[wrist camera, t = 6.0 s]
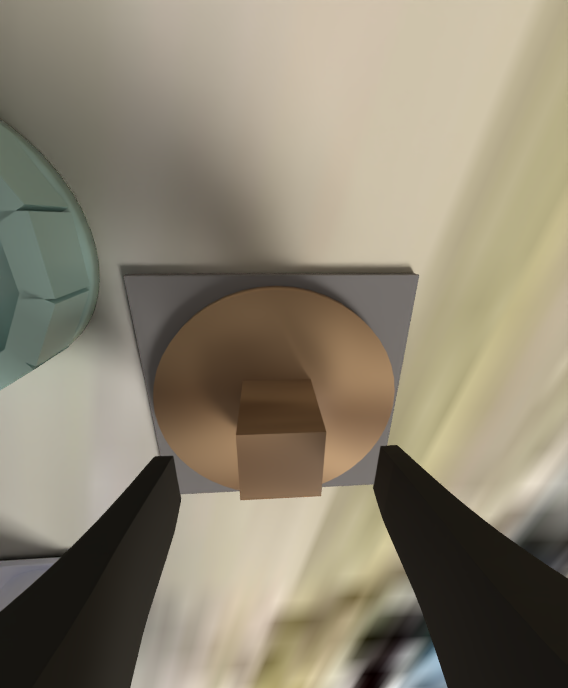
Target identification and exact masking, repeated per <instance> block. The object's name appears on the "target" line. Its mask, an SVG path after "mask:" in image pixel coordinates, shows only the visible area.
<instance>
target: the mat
mask: <svg viewBox="0 0 568 688" xmlns="http://www.w3.org/2000/svg"><path fill="white" fill-rule="evenodd" d="M418 279H419V275H418V274H415V273H388V274H127V275H125V276H124V281H125V286H126V291H127V296H128V301H129V305H130V310H131V315H132V320H133V325H134V330H135V334H136V339H137V344H138V349H139V354H140V359H141V364H142V368H143V373H144V378H145V383H146V388H147V393H148V397H149V402H150V407H151V412H152V417H153V422H154V427H155V431H156V436H157V441H158V446H159V451H160V456H173V457H174V462H175V468H176V473H177V479H178V484H179V490H180V494H194V493H214V492H233V491H240V490H235V489H232V488H229V487H225V486H223V485H220V484H218V483H215V482H213V481H211V480H209V479H207V478H205V477H203V476H202V475H200V474H198V473H197V472H196V471H194V470H193V469H191V468H190V467H189V466H188V465H186V464H185V463H184V462H183V461H182V460H181V459H180V458H179V457H178V456H177V455H176V453H175V452H174V451H173V450H172V449H171V447H170V446H169V444H168V443H167V441H166V440H165V438H164V436H163V434H162V432H161V430H160V428H159V425H158V422H157V418H156V415H155V411H154V402H153V389H154V381H155V376H156V371H157V368H158V365H159V363H160V360H161V358H162V356H163V354H164V352H165V350H166V349H167V347H168V345H169V343H170V342H171V341H172V339H173V338H174V337H175V335H176V334H177V333H178V332H179V330H180V329H181V328H182V327H183V325H184V324H185V323H186V322H187V321H188V320H190V319H191V318H192V317H193V316H194V315H195V314H196V313H197V312H199V311H200V310H202V309H203V308H205V307H206V306H207V305H209V304H210V303H212V302H214V301H216V300H218V299H220V298H222V297H224V296H227V295H230V294H233V293H236V292H238V291H241V290H246V289H251V288H256V287H265V286H289V287H297V288H303V289H308V290H312V291H315V292H318V293H321V294H323V295H326V296H328V297H330V298H332V299H334V300H336V301H338V302H340V303H342V304H343V305H345V306H346V307H348V308H349V309H350V310H352V311H353V312H354V313H355V314H356V315H358V316H359V317H360V318H361V319H362V320H363V321H364V322H365V323H366V324H367V325H368V326H369V327H370V328H371V329H372V331H373V332H374V333H375V335H376V336H377V337H378V338H379V340H380V341H381V343H382V345H383V347H384V349H385V350H386V352H387V355H388V357H389V360H390V363H391V366H392V371H393V376H394V390H395V393H394V401H393V407H392V411H391V415H390V418H389V420H388V423H387V425H386V428H385V430H384V431H383V433H382V435H381V436H380V438H379V440H378V441H377V443H376V444H375V445H374V446H373V448H372V449H371V450H370V451H369V452H368V453H367V454H366V456H365V457H364V458H363V459H362V460H360V461H359V462H358V463H357V464H356V465H354V466H353V467H352V468H351V469H349V470H347V471H346V472H344V473H343V474H341V475H340V476H338V477H336V478H334V479H332V480H330V481H328V482H325V483H323V484H322V487H331V486H351V485H370V484H374V480H375V474H376V469H377V463H378V457H379V451H380V446H387V443H388V438H389V432H390V427H391V422H392V416H393V411H394V406H395V401H396V395H397V390H398V385H399V379H400V374H401V369H402V363H403V358H404V353H405V348H406V342H407V337H408V332H409V326H410V321H411V316H412V310H413V305H414V300H415V294H416V289H417V284H418Z"/></svg>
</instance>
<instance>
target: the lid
mask: <svg viewBox="0 0 568 688" xmlns="http://www.w3.org/2000/svg"><path fill="white" fill-rule="evenodd" d="M394 393H395V390H394V376H393V371H392V366H391V363H390V360H389V357H388V355H387V352H386V350H385V349H384V347H383V345H382V343H381V341H380V340H379V338H378V337H377V336H376V335H375V333H374V332H373V331H372V329H371V328H370V327H369V326H368V325H367V324H366V323H365V322H364V321H363V320H362V319H361V318H360V317H359V316H358V315H356V314H355V313H354V312H353V311H352V310H350V309H349V308H348V307H346V306H345V305H343V304H342V303H340V302H338V301H336V300H334V299H332V298H330V297H328V296H326V295H323V294H321V293H318V292H315V291H312V290H308V289H303V288H297V287H289V286H265V287H256V288H251V289H246V290H241V291H238V292H236V293H233V294H230V295H227V296H224V297H222V298H220V299H218V300H216V301H214V302H212V303H210V304H209V305H207V306H206V307H205V308H203V309H202V310H200V311H199V312H197V313H196V314H195V315H194V316H193V317H192V318H191V319H190V320H188V321H187V322H186V323H185V324H184V325H183V327H182V328H181V329H180V330H179V332H178V333H177V334H176V335H175V337H174V338H173V339H172V341H171V342H170V343H169V345H168V347H167V349H166V350H165V352H164V354H163V356H162V358H161V360H160V363H159V365H158V368H157V371H156V376H155V381H154V389H153V402H154V411H155V415H156V418H157V422H158V425H159V428H160V430H161V432H162V434H163V436H164V438H165V440H166V441H167V443H168V444H169V446H170V447H171V449H172V450H173V451H174V452H175V453H176V455H177V456H178V457H179V458H180V459H181V460H182V461H183V462H184V463H185V464H186V465H188V466H189V467H190V468H191V469H193V470H194V471H196V472H197V473H198V474H200V475H202V476H203V477H205V478H207V479H209V480H211V481H213V482H215V483H218V484H220V485H223V486H225V487H229V488H232V489H235V490H240V500H254V499H273V498H293V497H313V496H321V491H322V484H323V483H325V482H328V481H330V480H332V479H334V478H336V477H338V476H340V475H341V474H343V473H344V472H346V471H347V470H349V469H351V468H352V467H353V466H354V465H356V464H357V463H358V462H359V461H360V460H362V459H363V458H364V457H365V456H366V454H367V453H368V452H369V451H370V450H371V449H372V448H373V446H374V445H375V444H376V443H377V441H378V440H379V438H380V436H381V435H382V433H383V431H384V430H385V428H386V425H387V423H388V420H389V418H390V415H391V411H392V407H393V401H394Z"/></svg>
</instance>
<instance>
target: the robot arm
mask: <svg viewBox="0 0 568 688" xmlns="http://www.w3.org/2000/svg"><path fill="white" fill-rule="evenodd" d="M373 489H374V493H375V496H376V500H377V503H378V506H379V509H380V512H381V515H382V519H383V521H384V523H385V526H386V528H387V530H388V533H389V535H390V537H391V540H392V542H393V544H394V547H395V549H396V551H397V554H398V556H399V558H400V560H401V563H402V565H403V567H404V570H405V572H406V574H407V576H408V579H409V581H410V583H411V586H412V588H413V590H414V592H415V595H416V598H417V600H418V603H419V605H420V608H421V610H422V613H423V616H424V619H425V621H426V624H427V627H428V630H429V633H430V636H431V639H432V642H433V645H434V647H435V650H436V653H437V656H438V659H439V662H440V665H441V669H442V672H443V675H444V678H445V681H446V684H447V687H448V688H568V578H566V577H565V576H563V575H562V574H560V573H558V572H557V571H555V570H554V569H552V568H551V567H549V566H548V565H546V564H545V563H543V562H542V561H540V560H539V559H537V558H536V557H534V556H533V555H531V554H530V553H528V552H527V551H525V550H524V549H523V548H521V547H520V546H518V545H517V544H516V543H514V542H513V541H511V540H510V539H509V538H507V537H506V536H504V535H503V534H502V533H500V532H499V531H498V530H496V529H495V528H494V527H492V526H491V525H490V524H488V523H487V522H486V521H485V520H483V519H482V518H481V517H480V516H478V515H477V514H476V513H475V512H473V511H472V510H471V509H469V508H468V507H467V506H466V505H465V504H463V503H462V502H461V501H460V500H459V499H457V498H456V497H455V496H454V495H453V494H451V493H450V492H449V491H448V490H447V489H446V488H444V487H443V486H442V485H441V484H440V483H439V482H438V481H436V480H435V479H434V478H433V477H432V476H431V475H430V474H429V473H427V472H426V471H425V470H424V469H423V468H422V467H421V466H420V465H419V464H417V463H416V462H415V461H414V460H413V459H412V458H411V457H410V456H409V455H408V454H406V453H405V452H404V451H403V450H402V449H401V448H400V447H399V446H397V445H390V446H380V451H379V457H378V463H377V469H376V474H375V480H374V486H373ZM180 503H181V495H180V490H179V484H178V479H177V473H176V468H175V462H174V457H173V456H155V457H154V458H153V459H152V460H151V461H150V462H149V463H148V464H147V466H146V467H145V468H144V469H143V470H142V471H141V473H140V474H139V475H138V476H137V477H136V478H135V480H134V481H133V482H132V483H131V484H130V485H129V486H128V488H127V489H126V490H125V491H124V492H123V493H122V494H121V495H120V497H119V498H118V499H117V500H116V501H115V502H114V503H113V504H112V505H111V506H110V508H109V509H108V510H107V511H106V512H105V513H104V514H103V515H102V516H101V517H100V518H99V519H98V521H97V522H96V523H95V524H94V525H93V526H92V527H91V528H90V529H89V530H88V531H87V532H86V533H85V534H84V535H83V536H82V537H81V538H80V539H79V540H78V541H77V542H76V543H75V544H74V545H73V546H72V547H71V548H70V549H69V550H68V551H67V552H66V553H65V554H64V555H63V556H62V557H54V558H38V559H23V560H7V561H0V688H130V686H131V682H132V678H133V674H134V669H135V665H136V661H137V657H138V652H139V648H140V644H141V640H142V636H143V632H144V628H145V625H146V621H147V618H148V614H149V611H150V608H151V605H152V602H153V599H154V595H155V592H156V589H157V586H158V583H159V580H160V577H161V573H162V570H163V567H164V564H165V561H166V558H167V555H168V551H169V548H170V545H171V542H172V538H173V535H174V532H175V527H176V523H177V518H178V513H179V508H180Z"/></svg>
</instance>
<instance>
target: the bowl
mask: <svg viewBox="0 0 568 688" xmlns="http://www.w3.org/2000/svg"><path fill="white" fill-rule="evenodd" d="M99 282H100V281H99V263H98V257H97V251H96V246H95V243H94V240H93V236H92V233H91V230H90V228H89V225H88V223H87V221H86V218H85V216H84V214H83V211H82V210H81V208H80V206H79V204H78V202H77V201H76V199H75V197H74V195H73V193H72V192H71V191H70V189H69V188H68V186H67V185H66V183H65V182H64V181H63V179H62V178H61V176H60V175H59V174H58V172H57V171H56V170H55V169H54V168H53V167H52V165H51V164H50V163H49V162H48V161H47V160H46V158H45V157H44V156H43V155H42V154H41V153H40V152H39V151H38V150H37V149H36V148H35V147H34V146H33V145H32V144H30V143H29V142H28V141H27V140H26V139H25V138H24V137H23V136H21V135H20V134H19V133H18V132H16V131H15V130H14V129H13V128H11V127H10V126H9V125H8V124H6V123H5V122H4V121H2V120H0V390H2V389H3V388H5V387H7V386H8V385H10V384H11V383H13V382H15V381H16V380H18V379H19V378H21V377H23V376H24V375H26V374H28V373H29V372H31V371H32V370H34V369H35V368H37V367H39V366H40V365H42V364H43V363H45V362H46V361H48V360H49V359H51V358H52V357H54V356H55V355H57V354H58V353H60V352H61V351H63V350H64V349H66V348H68V347H69V345H70V344H72V342H73V341H74V340H75V339H76V338H77V337H78V336H79V335H80V334H81V333H82V331H83V330H84V329H85V327H86V326H87V324H88V323H89V321H90V318H91V316H92V314H93V312H94V309H95V305H96V302H97V298H98V291H99Z"/></svg>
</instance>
